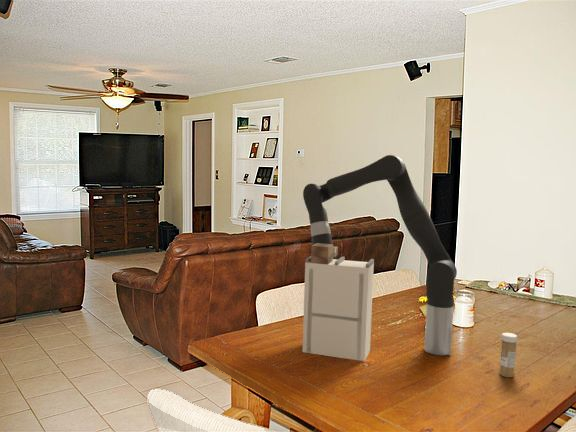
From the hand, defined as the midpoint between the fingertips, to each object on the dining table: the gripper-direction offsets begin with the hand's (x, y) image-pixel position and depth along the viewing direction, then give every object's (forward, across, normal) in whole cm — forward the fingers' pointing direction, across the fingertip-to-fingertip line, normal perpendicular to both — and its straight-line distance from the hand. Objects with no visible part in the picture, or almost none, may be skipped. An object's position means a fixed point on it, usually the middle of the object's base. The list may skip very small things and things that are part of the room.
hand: (327, 276), depth 193 cm
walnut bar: (-6, -7, -5) cm, 11 cm away
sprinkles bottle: (+42, +9, -54) cm, 69 cm away
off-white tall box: (+27, -6, -2) cm, 28 cm away
